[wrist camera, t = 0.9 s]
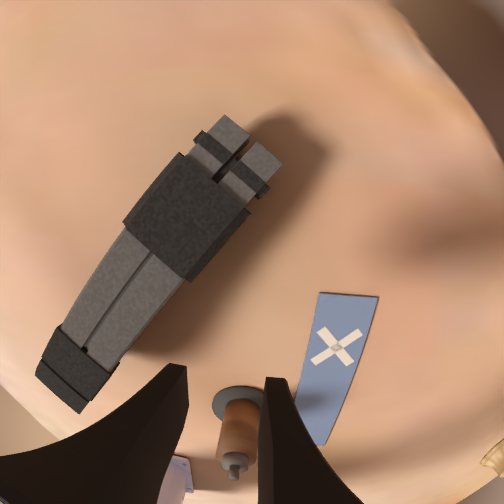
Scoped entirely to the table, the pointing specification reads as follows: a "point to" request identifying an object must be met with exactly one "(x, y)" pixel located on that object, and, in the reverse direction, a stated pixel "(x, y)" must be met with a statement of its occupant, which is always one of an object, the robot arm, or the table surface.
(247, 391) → the coaster
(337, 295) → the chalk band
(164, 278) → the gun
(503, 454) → the hand bell
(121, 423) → the robot arm
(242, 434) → the awl
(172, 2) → the table surface
